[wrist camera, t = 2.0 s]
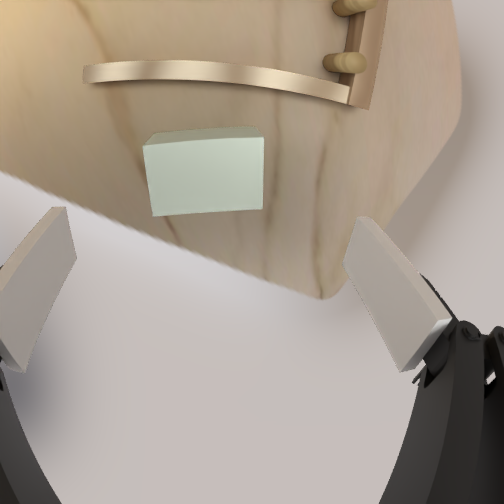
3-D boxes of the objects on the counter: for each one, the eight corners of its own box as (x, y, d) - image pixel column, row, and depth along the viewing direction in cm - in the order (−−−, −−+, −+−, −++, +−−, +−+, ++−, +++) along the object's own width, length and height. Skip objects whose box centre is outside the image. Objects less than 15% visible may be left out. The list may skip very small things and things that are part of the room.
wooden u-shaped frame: (93, 82, 19) (69, 85, 15) (114, -42, 12) (96, -60, 8) (353, 105, 24) (380, 114, 20) (373, -10, 16) (402, -19, 12)
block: (161, 192, 27) (153, 216, 23) (154, 132, 23) (142, 146, 19) (254, 186, 28) (262, 209, 24) (254, 125, 24) (263, 137, 20)
